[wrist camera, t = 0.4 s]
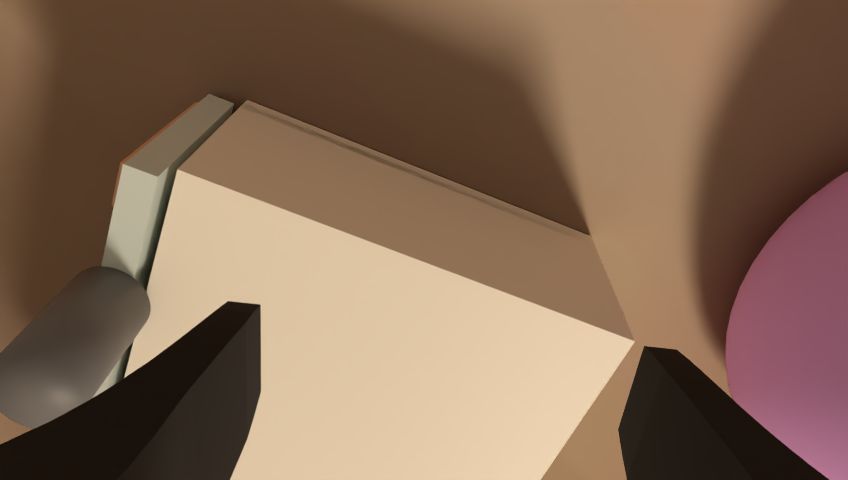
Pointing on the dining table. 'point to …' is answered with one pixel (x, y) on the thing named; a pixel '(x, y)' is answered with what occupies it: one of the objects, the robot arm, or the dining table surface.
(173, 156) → the flap
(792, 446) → the teapot
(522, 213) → the carton
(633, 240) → the dining table surface
